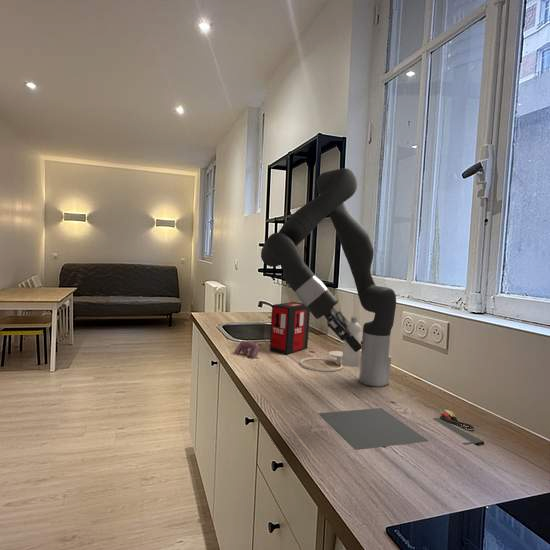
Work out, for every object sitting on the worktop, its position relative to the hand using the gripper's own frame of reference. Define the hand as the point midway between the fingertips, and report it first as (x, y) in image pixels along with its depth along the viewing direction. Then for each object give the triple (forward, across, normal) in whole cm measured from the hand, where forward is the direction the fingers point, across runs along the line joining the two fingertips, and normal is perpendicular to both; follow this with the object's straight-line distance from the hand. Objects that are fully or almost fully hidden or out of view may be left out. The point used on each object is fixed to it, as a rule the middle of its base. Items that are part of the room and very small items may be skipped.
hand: (359, 347), depth 105 cm
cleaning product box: (-8, +66, +37) cm, 76 cm away
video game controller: (-18, +49, +47) cm, 70 cm away
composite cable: (+33, +10, -4) cm, 35 cm away
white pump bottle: (+2, 0, +5) cm, 5 cm away
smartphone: (+32, +4, -2) cm, 32 cm away
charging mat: (+17, -2, +11) cm, 21 cm away
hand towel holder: (+5, +50, +24) cm, 56 cm away
